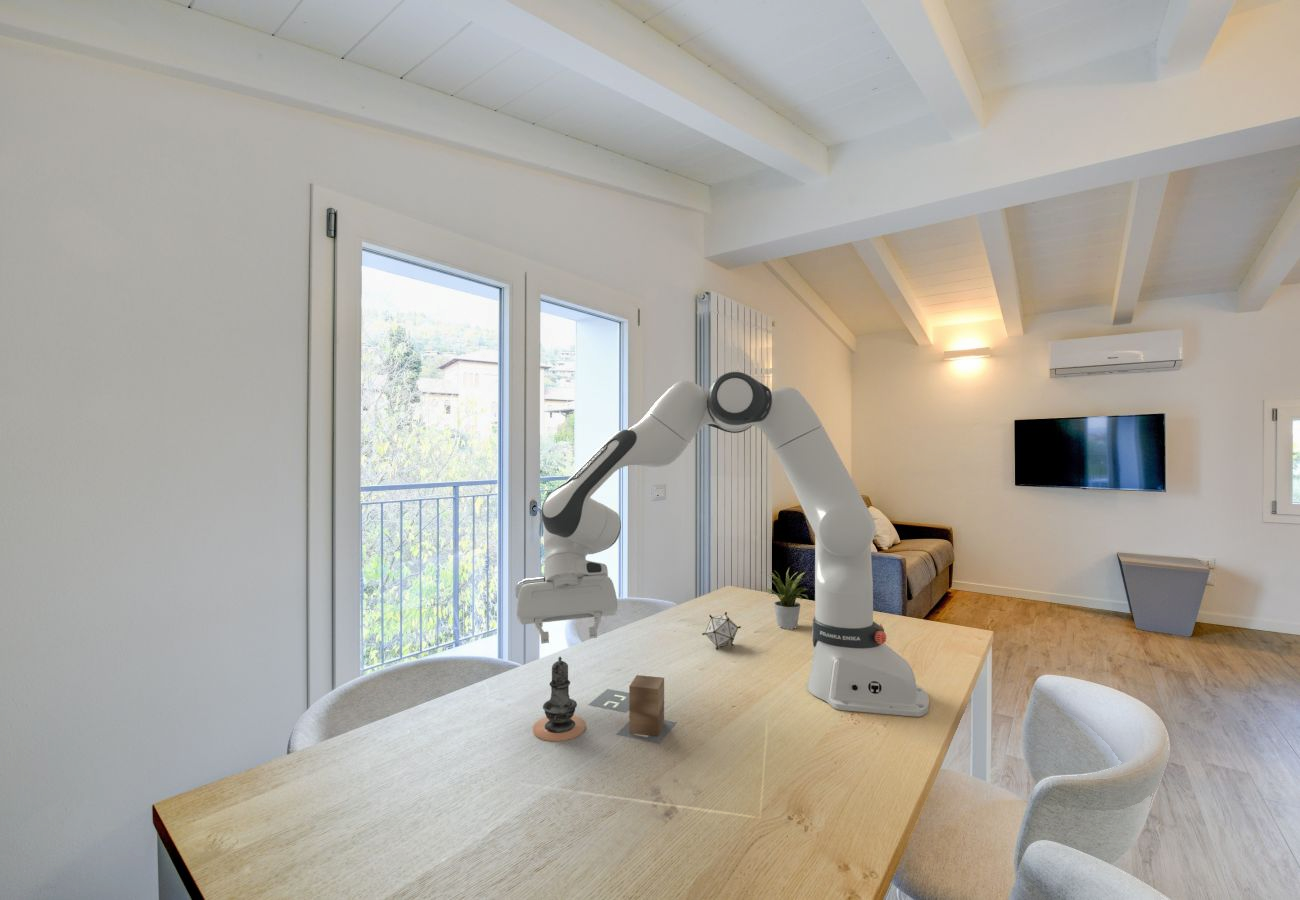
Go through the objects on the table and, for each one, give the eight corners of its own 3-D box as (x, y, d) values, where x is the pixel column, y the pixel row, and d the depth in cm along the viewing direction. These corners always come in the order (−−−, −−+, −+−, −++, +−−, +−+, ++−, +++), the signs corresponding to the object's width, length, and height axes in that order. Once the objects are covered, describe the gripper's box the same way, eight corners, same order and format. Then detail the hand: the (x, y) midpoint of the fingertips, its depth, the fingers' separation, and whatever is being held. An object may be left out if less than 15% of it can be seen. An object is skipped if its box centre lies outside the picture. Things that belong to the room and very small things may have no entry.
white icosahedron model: (728, 663, 141) (744, 638, 135) (696, 651, 141) (710, 625, 135) (731, 635, 148) (746, 610, 143) (700, 623, 148) (714, 598, 143)
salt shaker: (583, 722, 101) (583, 653, 101) (564, 736, 96) (564, 664, 96) (555, 715, 104) (555, 648, 104) (535, 729, 98) (535, 659, 98)
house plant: (756, 633, 152) (756, 571, 152) (756, 618, 166) (755, 561, 166) (812, 636, 150) (812, 573, 150) (807, 620, 163) (806, 563, 163)
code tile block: (676, 723, 102) (676, 722, 102) (659, 744, 94) (659, 743, 94) (635, 715, 105) (635, 714, 105) (616, 735, 97) (616, 734, 97)
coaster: (594, 722, 102) (594, 719, 102) (568, 746, 94) (568, 743, 94) (551, 713, 105) (551, 710, 105) (522, 736, 97) (522, 732, 97)
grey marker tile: (643, 696, 113) (643, 695, 113) (625, 713, 106) (625, 712, 106) (607, 689, 116) (607, 688, 116) (587, 705, 109) (587, 704, 109)
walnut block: (664, 722, 101) (664, 677, 101) (658, 736, 97) (658, 688, 97) (636, 719, 103) (636, 675, 103) (629, 733, 98) (629, 686, 98)
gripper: (513, 573, 117) (513, 639, 109) (613, 564, 120) (621, 628, 112) (517, 586, 122) (516, 651, 114) (613, 577, 125) (619, 640, 117)
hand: (569, 639), depth 113 cm, fingers open, 8 cm apart
